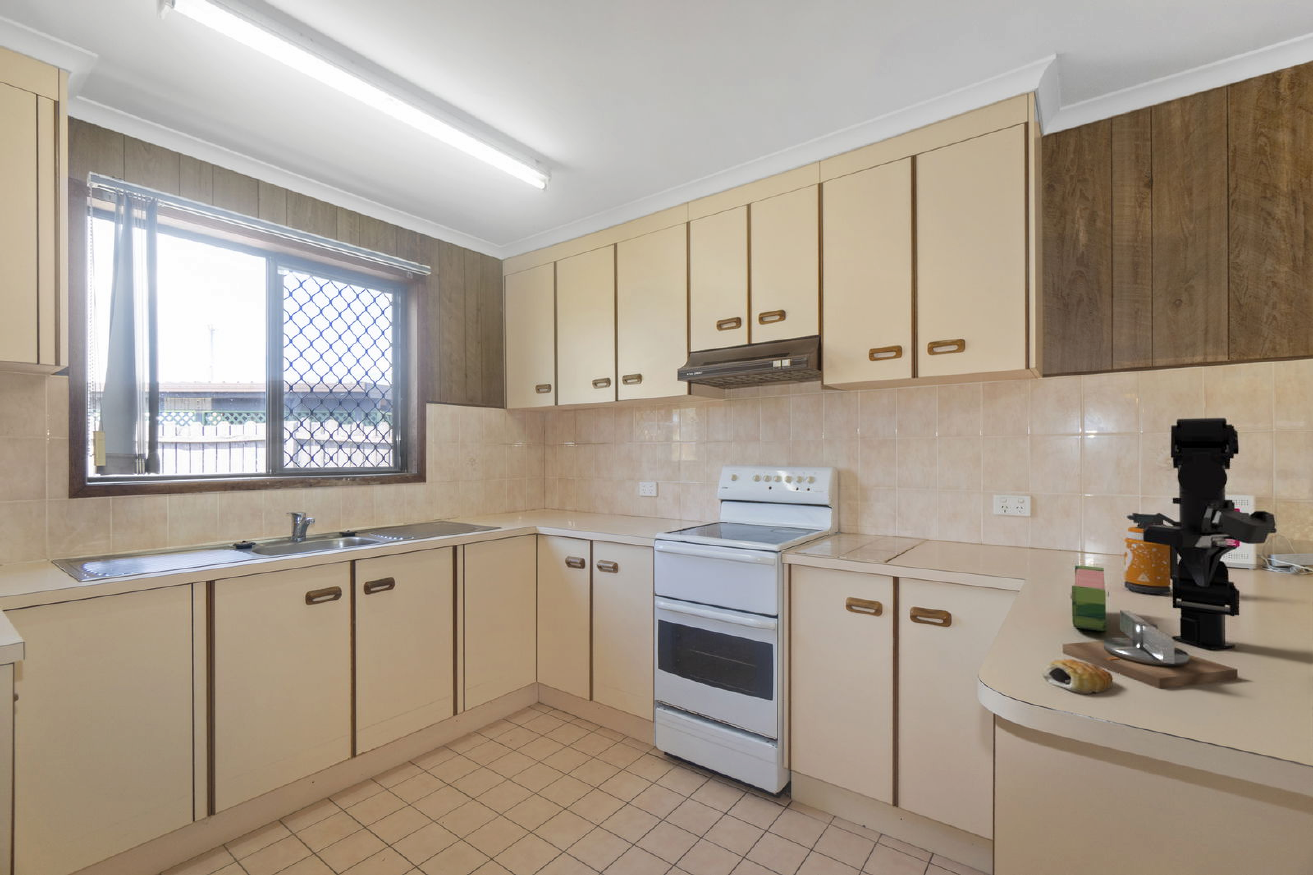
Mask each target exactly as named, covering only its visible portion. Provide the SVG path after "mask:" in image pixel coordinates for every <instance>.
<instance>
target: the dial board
mask: <svg viewBox="0 0 1313 875" xmlns="http://www.w3.org/2000/svg"><path fill="white" fill-rule="evenodd" d="M1104 640H1105V639H1104ZM1104 640H1095V641H1085V642H1083V641H1082V642H1074V643H1073V642H1072V643H1063V644H1062V654H1065V655H1067V656H1071V657H1074V658H1076V659H1079V660H1081V659H1082V660H1081V661H1084V660H1085V661H1084V662H1086V661H1087V662H1086V663H1088V664H1093V665H1095V664H1096V666H1097V665H1098V667H1100V666H1101V667H1100V668H1102V669H1105V668H1107V669H1106V670H1108V669H1109V670H1108V671H1111V672H1114V673H1116V674H1119V673H1120V674H1119V675H1122V676H1124V677H1128V678H1130V679H1133V680H1136V681H1138V682H1141V683H1143V682H1144V684H1146V685H1150V686H1152V687H1154V688H1157V689H1165V688H1173V687H1182V686H1191V685H1199V683H1200V684H1206V682H1209V683H1216V682H1224V681H1230V680H1231V681H1233V680H1238V678H1239V676H1238V670H1239V669H1237V668H1235V667H1231V666H1227V665H1224V664H1221V663H1218V662H1214V661H1211V660H1208V659H1205V658H1203V657H1202V658H1201V657H1199V656H1196V655H1192V654H1189V664H1187V665H1184V666H1160V665H1152V664H1146V663H1141V662H1136V661H1132V660H1128V659H1124V658H1121V657H1118V656H1115V655H1113V654H1111V653H1109V652H1107V651H1106V650H1105V649H1104Z"/></svg>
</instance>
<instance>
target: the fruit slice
mask: <svg viewBox="0 0 1313 875" xmlns="http://www.w3.org/2000/svg"><path fill="white" fill-rule="evenodd" d="M1105 583H1106V582H1105V570H1104V567H1100V566H1099V567H1097V566H1088V565H1074V584H1073V585H1071V594H1070V599H1071V612H1072V613H1071V614H1072V616H1071V618H1072V625H1073V627H1074V628H1077V629H1084V630H1090V631H1098V632H1106V630H1107V629H1106V628H1107V624H1106V623H1107V622H1106V621H1107V617H1106V614H1107V612H1106V611H1107V609H1106V607H1107V606H1106V602H1107V600H1106V597H1108V598H1109V596H1110V595H1109V594H1110V592H1109V591H1106V585H1105ZM1106 592H1107V593H1106ZM1106 594H1107V595H1106Z"/></svg>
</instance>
